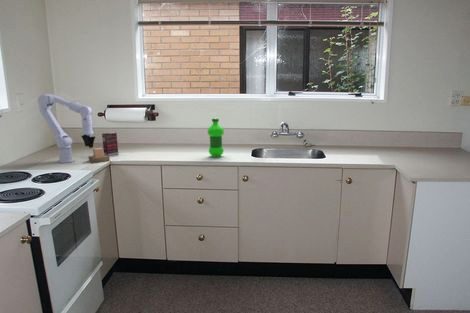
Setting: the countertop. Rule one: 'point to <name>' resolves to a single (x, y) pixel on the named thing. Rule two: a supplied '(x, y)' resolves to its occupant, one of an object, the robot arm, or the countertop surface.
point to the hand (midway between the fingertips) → (89, 146)
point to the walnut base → (99, 159)
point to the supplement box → (110, 144)
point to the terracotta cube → (98, 152)
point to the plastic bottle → (215, 138)
